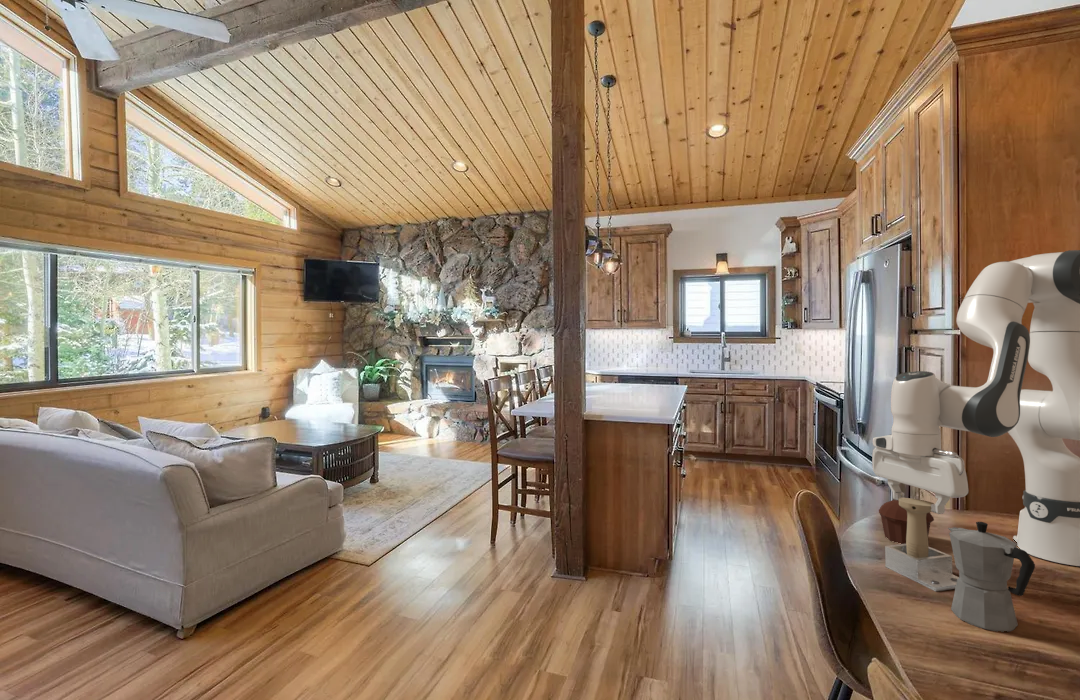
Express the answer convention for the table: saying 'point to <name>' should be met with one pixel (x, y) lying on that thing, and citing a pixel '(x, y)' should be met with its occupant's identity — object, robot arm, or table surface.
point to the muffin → (897, 521)
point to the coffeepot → (987, 577)
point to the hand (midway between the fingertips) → (917, 506)
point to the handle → (916, 526)
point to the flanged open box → (922, 567)
